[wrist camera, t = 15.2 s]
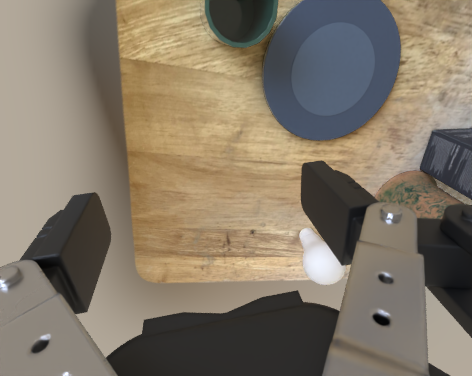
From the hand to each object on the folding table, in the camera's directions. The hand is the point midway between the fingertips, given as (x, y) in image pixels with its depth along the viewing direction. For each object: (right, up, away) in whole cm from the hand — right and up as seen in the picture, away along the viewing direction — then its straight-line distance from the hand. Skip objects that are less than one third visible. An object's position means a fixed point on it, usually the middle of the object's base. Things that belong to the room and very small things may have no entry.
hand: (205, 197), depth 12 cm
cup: (0, +20, +22) cm, 30 cm away
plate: (+13, +16, +26) cm, 33 cm away
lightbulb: (+13, -7, +38) cm, 41 cm away
